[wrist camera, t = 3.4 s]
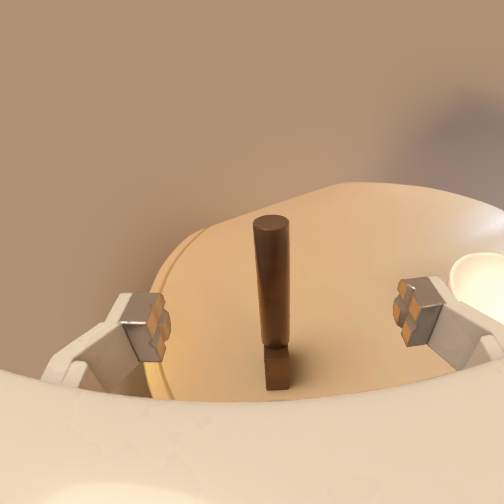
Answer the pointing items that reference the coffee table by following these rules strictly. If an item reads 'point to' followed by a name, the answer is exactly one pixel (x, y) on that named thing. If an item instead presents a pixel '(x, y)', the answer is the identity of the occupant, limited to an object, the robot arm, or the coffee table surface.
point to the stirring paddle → (274, 295)
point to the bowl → (480, 283)
